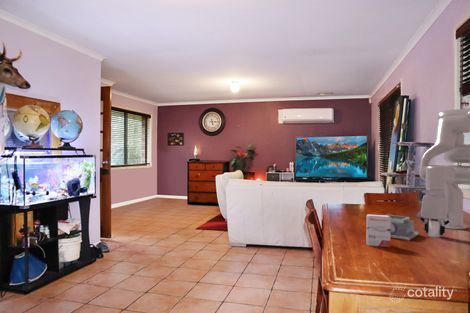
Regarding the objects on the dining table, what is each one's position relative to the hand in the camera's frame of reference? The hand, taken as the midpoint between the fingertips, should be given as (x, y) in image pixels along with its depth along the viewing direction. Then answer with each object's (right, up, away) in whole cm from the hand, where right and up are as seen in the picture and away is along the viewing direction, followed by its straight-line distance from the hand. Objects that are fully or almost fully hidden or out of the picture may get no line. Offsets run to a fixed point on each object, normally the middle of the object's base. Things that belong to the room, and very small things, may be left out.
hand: (434, 233), depth 149 cm
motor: (-17, -1, +2) cm, 17 cm away
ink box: (-33, -1, -17) cm, 37 cm away
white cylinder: (0, -1, 0) cm, 1 cm away
